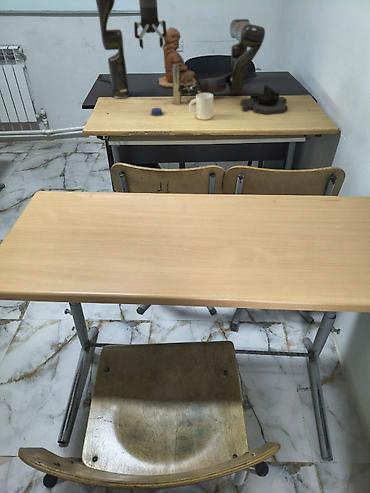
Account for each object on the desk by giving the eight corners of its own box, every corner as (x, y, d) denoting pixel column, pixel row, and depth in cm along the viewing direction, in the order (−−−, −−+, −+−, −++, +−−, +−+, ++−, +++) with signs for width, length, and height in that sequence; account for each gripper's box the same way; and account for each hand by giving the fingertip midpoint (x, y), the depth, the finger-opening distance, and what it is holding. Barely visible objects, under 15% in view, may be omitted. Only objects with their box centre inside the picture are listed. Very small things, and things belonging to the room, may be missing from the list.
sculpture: (197, 88, 213) (196, 30, 194) (156, 89, 214) (152, 31, 194) (196, 75, 234) (196, 22, 215) (159, 76, 235) (156, 23, 215)
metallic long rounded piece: (174, 104, 193) (172, 65, 181) (172, 102, 196) (170, 63, 184) (182, 103, 194) (181, 64, 181) (180, 101, 197) (179, 62, 185)
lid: (154, 111, 186) (154, 107, 184) (163, 112, 184) (163, 108, 183) (149, 115, 182) (149, 110, 181) (159, 116, 180) (158, 111, 179)
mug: (190, 121, 174) (189, 99, 167) (187, 115, 180) (187, 93, 173) (214, 119, 175) (214, 97, 168) (211, 113, 181) (211, 92, 174)
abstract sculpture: (249, 96, 171) (238, 84, 186) (248, 115, 177) (236, 102, 192) (299, 92, 174) (283, 80, 189) (296, 111, 180) (281, 98, 195)
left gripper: (132, 7, 150) (136, 50, 160) (166, 5, 151) (168, 48, 162) (131, 5, 155) (135, 47, 166) (163, 3, 157) (166, 45, 167)
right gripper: (202, 75, 198) (174, 79, 194) (211, 82, 187) (182, 86, 183) (202, 89, 202) (174, 93, 199) (211, 97, 192) (182, 101, 188)
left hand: (151, 47), depth 164 cm, fingers open, 8 cm apart
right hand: (178, 90), depth 191 cm, fingers open, 8 cm apart
